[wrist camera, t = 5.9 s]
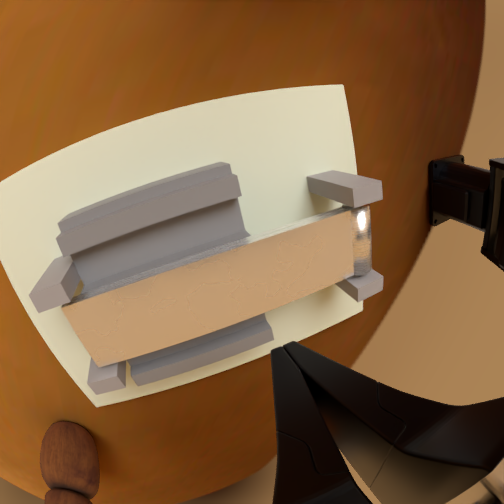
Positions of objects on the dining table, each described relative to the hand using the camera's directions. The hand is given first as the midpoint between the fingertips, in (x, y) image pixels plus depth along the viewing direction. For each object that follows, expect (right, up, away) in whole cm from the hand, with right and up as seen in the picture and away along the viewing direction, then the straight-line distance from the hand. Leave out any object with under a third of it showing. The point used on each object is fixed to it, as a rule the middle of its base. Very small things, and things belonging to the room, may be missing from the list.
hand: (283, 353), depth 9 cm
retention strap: (-2, +2, +6) cm, 6 cm away
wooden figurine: (-19, -14, +11) cm, 26 cm away
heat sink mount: (-5, +3, +9) cm, 10 cm away
